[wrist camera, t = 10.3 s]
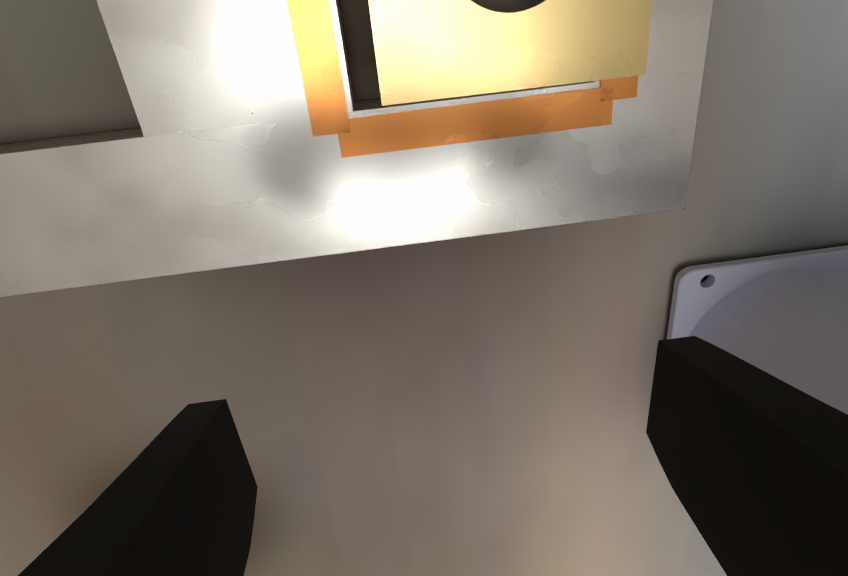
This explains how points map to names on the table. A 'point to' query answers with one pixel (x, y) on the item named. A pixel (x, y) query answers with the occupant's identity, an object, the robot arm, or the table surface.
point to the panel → (328, 150)
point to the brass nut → (503, 45)
